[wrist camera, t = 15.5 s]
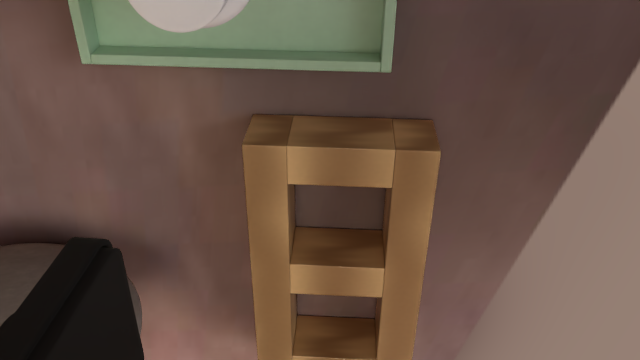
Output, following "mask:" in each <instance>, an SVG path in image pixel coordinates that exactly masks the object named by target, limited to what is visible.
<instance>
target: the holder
mask: <svg viewBox="0 0 640 360" xmlns="http://www.w3.org/2000/svg"><path fill="white" fill-rule="evenodd" d="M242 154H243V168H244V181H245V195H246V208H247V222H248V235H249V248H250V262H251V275H252V289H253V302H254V316H255V329H256V342H257V356H258V360H412V356H413V349H414V342H415V335H416V328H417V321H418V314H419V306H420V299H421V292H422V285H423V278H424V271H425V264H426V256H427V249H428V242H429V235H430V228H431V221H432V214H433V206H434V199H435V192H436V185H437V178H438V171H439V164H440V156H441V150H440V146H439V142H438V138H437V134H436V131H435V127H434V123H433V120H415V119H391V118H359V117H328V116H297V115H294V116H293V115H263V114H253V116H252V119H251V121H250V124H249V127H248V130H247V132H246V135H245V138H244V141H243V143H242ZM295 184H300V185H326V186H353V187H380V188H386V194H385V206H384V218H383V230H359V229H334V228H310V227H296V228H295ZM297 294H316V295H338V296H360V297H377V301H376V313H375V319H364V318H343V317H322V316H301V315H297Z"/></svg>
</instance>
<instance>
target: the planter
mask: <svg viewBox="0 0 640 360" xmlns="http://www.w3.org/2000/svg"><path fill="white" fill-rule="evenodd" d="M64 246H65V245H60V244H50V243H25V244H13V245H5V246H0V326H1V325H2V324H3V322H4V321H5V320H6V319H7V318H8V317H9V316H10V315H12V314H14V313H15V312H16V310H17V309H18V308H19V306H20V305H21V304H22V302H23V301H24V300H25V298H26V297H27V296H28V294H29V293H30V292H31V290H32V289H33V288H34V286H35V285H36V284H37V282H38V281H39V280H40V278H41V277H42V276H43V274H44V273H45V272H46V270H47V269H48V268H49V266H50V265H51V264H52V262H53V261H54V260H55V258H56V257H57V256H58V254H59V253H60V252H61V250H62V249H63V248H64ZM127 280H128V284H129V289H130V293H131V298H132V303H133V307H134V312H135V316H136V321H137V325H138V330H139V334H141V327H142V309H141V303H140V298H139V295H138V293H137V291H136V289H135V287H134V285H133V283H132V282H131V281H130V279H129V278H128V277H127Z"/></svg>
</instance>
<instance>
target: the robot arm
mask: <svg viewBox="0 0 640 360" xmlns="http://www.w3.org/2000/svg"><path fill="white" fill-rule="evenodd" d="M0 360H144V353H143V348H142V344H141V339H140V334H139V330H138V325H137V321H136V316H135V312H134V307H133V303H132V298H131V293H130V289H129V284H128V280H127V275H126V271H125V266H124V261H123V257H122V253H121V251H120V250H119V249H117V248H113V247H112V244H111V242H110V241H109V240H107V239H97V238H82V237H74V238H71V239H70V240H69V241H68V242H67V244H66V245H65V246H64V248H63V249H62V250H61V252H60V253H59V254H58V256H57V257H56V258H55V260H54V261H53V262H52V264H51V265H50V266H49V268H48V269H47V270H46V272H45V273H44V274H43V276H42V277H41V278H40V280H39V281H38V282H37V284H36V285H35V286H34V288H33V289H32V290H31V292H30V293H29V294H28V296H27V297H26V298H25V300H24V301H23V302H22V304H21V305H20V306H19V308H18V309H17V310H16V312H15V313H14V314H12V315H10V316H9V317H8V318H7V319H6V320H5V321H4V322H3V324H2V325H1V326H0Z"/></svg>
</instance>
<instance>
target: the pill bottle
mask: <svg viewBox="0 0 640 360" xmlns="http://www.w3.org/2000/svg"><path fill="white" fill-rule="evenodd" d="M128 1H129V2H130V4H131V5H132V7H133V8H134V9H135V10H136V12H137V13H138V14H139V15H140V16H141V17H143V18H144V19H145V20H146V21H147V22H149V23H151V24H152V25H154V26H156V27H158V28H161V29H163V30H166V31H170V32H177V33H186V32H192V31H196V30H199V29H201V28H211V27H216V26H219V25H222V24H224V23H226V22H228V21H230V20H231V19H233V18H234V17H235V16H237V15H238V14H239V13H240V12H241V11H242V10H243V9H244V8H245V6H246V5H247V4H248V2H249V1H250V0H128Z"/></svg>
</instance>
